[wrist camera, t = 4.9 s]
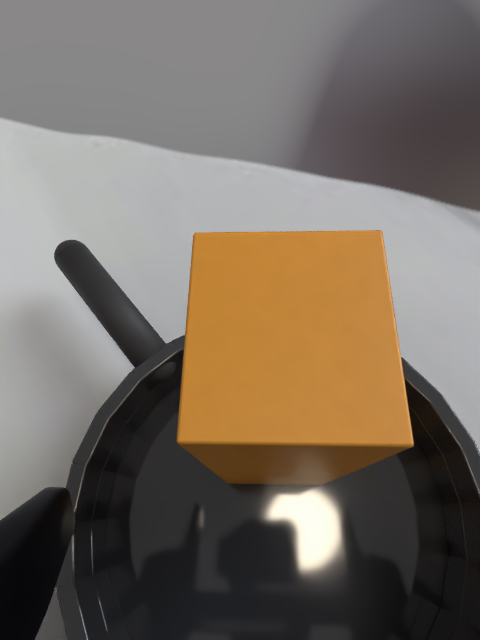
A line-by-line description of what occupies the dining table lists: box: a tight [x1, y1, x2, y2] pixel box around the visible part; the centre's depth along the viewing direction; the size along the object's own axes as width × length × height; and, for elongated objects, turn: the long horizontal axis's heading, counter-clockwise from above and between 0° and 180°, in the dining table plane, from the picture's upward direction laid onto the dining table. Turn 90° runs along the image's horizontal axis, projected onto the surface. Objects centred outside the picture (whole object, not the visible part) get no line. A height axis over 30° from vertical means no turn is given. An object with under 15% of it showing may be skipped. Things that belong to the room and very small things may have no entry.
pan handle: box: [54, 240, 176, 383], centre depth 18 cm, size 9×2×2 cm, turn 40°
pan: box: [56, 335, 480, 640], centre depth 16 cm, size 15×15×4 cm
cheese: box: [177, 230, 414, 485], centre depth 13 cm, size 4×4×12 cm
